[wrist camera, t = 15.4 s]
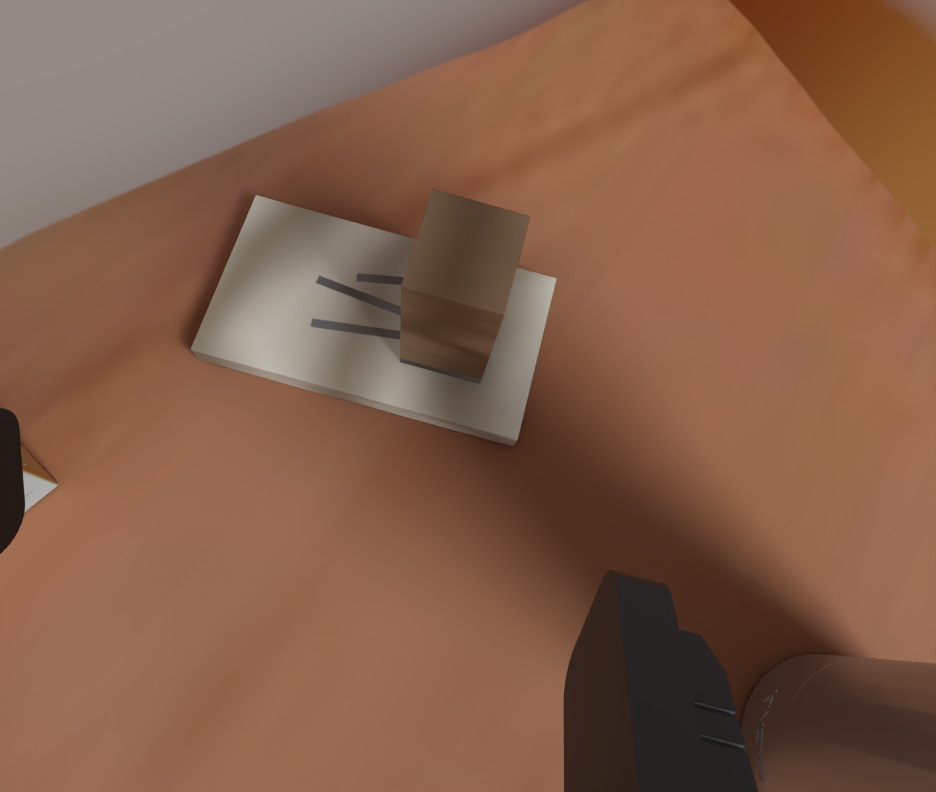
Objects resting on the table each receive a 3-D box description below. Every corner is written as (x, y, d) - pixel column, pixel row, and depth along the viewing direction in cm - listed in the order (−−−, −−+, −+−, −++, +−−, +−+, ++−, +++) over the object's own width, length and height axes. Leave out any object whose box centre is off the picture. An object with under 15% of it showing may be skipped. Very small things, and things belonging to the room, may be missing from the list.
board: (551, 290, 41) (556, 278, 40) (513, 446, 38) (517, 439, 37) (260, 209, 41) (256, 194, 40) (198, 359, 38) (190, 349, 37)
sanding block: (501, 304, 39) (530, 216, 31) (479, 384, 37) (504, 315, 29) (424, 282, 39) (432, 188, 30) (400, 362, 37) (400, 286, 29)
